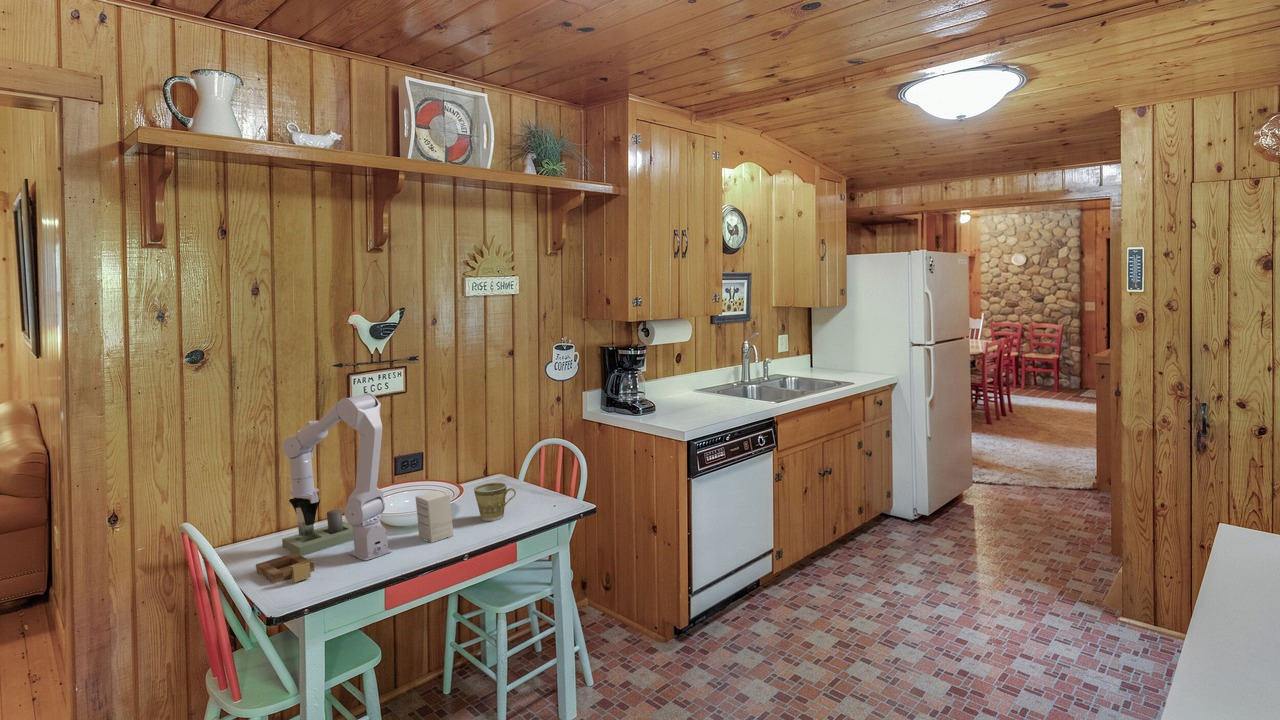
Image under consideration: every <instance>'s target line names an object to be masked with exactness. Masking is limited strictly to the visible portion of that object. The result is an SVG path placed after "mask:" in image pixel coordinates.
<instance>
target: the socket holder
mask: <svg viewBox="0 0 1280 720" xmlns="http://www.w3.org/2000/svg"><path fill="white" fill-rule="evenodd" d="M304 561H309V563H310V573H311V572H314V571H315V563H314V561H312V560H310V559H308V558H307V557H304V555H303V556H301V555H299V554H297V553H293V552H291V553H289V554H286V555H285V554H284V555H282V556H278V557H275V558H272V559H268V560H266V561H263V562H259V563H256V564H255V568H256V569H255V570H256V573H257V572H258V573H259V574H258V573H257V574H258V575H260V574H261V575H260V576H262V575H263V576H264V577H263V576H262V577H263V578H265V577H266V578H267V580H268V579H269V582H271V581H272V582H271V583H273V582H274V583H275V584H277V582H278V583H281V582H284V581H287V580H290V579H292V575H291V565H294V564H298V563H301V562H304ZM266 578H265V579H266ZM283 580H284V581H283ZM280 581H281V582H280ZM274 583H273V584H274Z"/></svg>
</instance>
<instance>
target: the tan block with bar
mask: <svg viewBox="0 0 1280 720" xmlns="http://www.w3.org/2000/svg"><path fill="white" fill-rule="evenodd" d="M291 575H292V578H291V581H292V582H293V583H297V582H300V581H303V580H306V579H309V578H311V577H312V575H311V572H310V563H309V561H304V562H301V563H298V564H294V565H291Z"/></svg>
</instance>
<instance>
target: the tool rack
mask: <svg viewBox="0 0 1280 720" xmlns="http://www.w3.org/2000/svg"><path fill="white" fill-rule="evenodd" d="M326 521H327V525H326V526H323V527H318V528H314V533H313V534H311V535H307V536H299V533H297V534H294V535H291V536H288V537H284V538H282V539H281V542H282V548H284V549H286V550H287V551H289V552H291V553H297V554H299V555H301V556H303V557H304V556H305V555H309V554H312V553H316V552H319V551H322V550H325V549H328V548H331V547H335V546H338V545H341V544H345V543H347V542H351V541H354V537H353V527H352V525H350V523H349V522H346V521H343V514H342V510H341V509H332V510H329V511H327V512H326Z"/></svg>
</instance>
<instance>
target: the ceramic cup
mask: <svg viewBox="0 0 1280 720" xmlns="http://www.w3.org/2000/svg"><path fill="white" fill-rule="evenodd" d="M509 491H512V492H513V493H514V495H513V496H511V497H510V498H509V499H508V500H507V501H506V495H507V494H508V493H509ZM473 492H474V496H475V500H476V503H477V507H478V511H479V515H480V516H479V517H480V519H481V520H483V521H484V522H496V521H499V520H501V519H503V517H504V516H505V515H504V514H505V507H506V506H507V504H508V503H509V502H510V501H511V500H513V498H515V496H516V493H517V491H516V489H515V488H513V487H509V488H507V484H506V483H505V482H496V481H495V482H485V483H481V484H477V485H476V486H474V488H473Z"/></svg>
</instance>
